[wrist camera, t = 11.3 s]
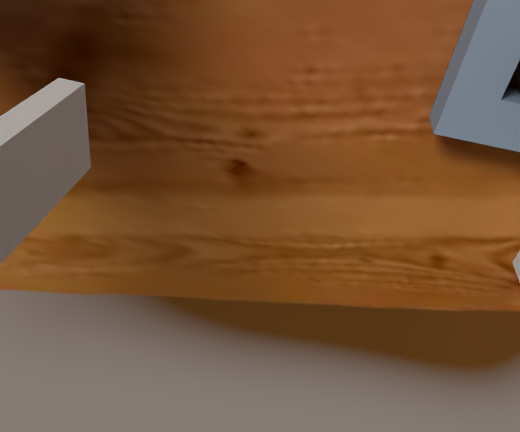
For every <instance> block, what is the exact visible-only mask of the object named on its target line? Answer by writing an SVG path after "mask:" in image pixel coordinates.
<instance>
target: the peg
mask: <svg viewBox="0 0 520 432" xmlns="http://www.w3.org/2000/svg"><path fill="white" fill-rule="evenodd" d="M513 76H514V77H515V79H516V80H517V81H518V83H519V84H520V60H519V62H518V65H517V67H516V69H515V71H514V73H513Z"/></svg>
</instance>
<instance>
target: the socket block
mask: <svg viewBox="0 0 520 432" xmlns="http://www.w3.org/2000/svg"><path fill="white" fill-rule="evenodd" d="M519 60H520V0H474V1H473V4H472V6H471V9H470V11H469V14H468V17H467V19H466V22H465V24H464V27H463V30H462V32H461V35H460V37H459V40H458V43H457V45H456V48H455V50H454V53H453V56H452V58H451V61H450V63H449V66H448V69H447V71H446V74H445V77H444V79H443V82H442V84H441V87H440V90H439V92H438V95H437V97H436V100H435V103H434V105H433V108H432V110H431V113H430V116H429V117H430V121H431V125H432V129H433V133H434V134H437V135H441V136H446V137H451V138H456V139H460V140H465V141H470V142H474V143H479V144H484V145H489V146H493V147H498V148H503V149H507V150H512V151H517V152H520V89H515V88H510V87H507V86H508V84H509V82H510V79H511V77H512V75H513V73H514V71H515V69H516V67H517V65H518V62H519Z"/></svg>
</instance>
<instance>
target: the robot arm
mask: <svg viewBox="0 0 520 432" xmlns="http://www.w3.org/2000/svg"><path fill="white" fill-rule="evenodd" d="M90 168H91V161H90V148H89V135H88V121H87V108H86V95H85V83H81V82H76V81H71V80H67V79H62V78H57V79H56V80H54V81H53V82H51V83H50V84H48V85H47V86H45V87H44V88H42V89H41V90H39V91H38V92H36V93H35V94H33V95H32V96H30V97H29V98H27V99H26V100H24V101H23V102H21V103H20V104H18V105H17V106H15V107H14V108H12V109H11V110H9V111H8V112H6V113H5V114H3V115H2V116H0V264H1V263H2V262H3V261H4V260H5V259H6V258H7V256H8V255H9V254H10V253H11V252H12V251H13V250H14V249H15V248H16V247H17V246H18V245H19V244H20V243H21V242H22V240H23V239H24V238H25V237H26V236H27V235H28V234H29V233H30V232H31V231H32V230H33V229H34V228H35V227H36V226H37V225H38V223H39V222H40V221H41V220H42V219H43V218H44V217H45V216H46V215H47V214H48V213H49V212H50V211H51V210H52V209H53V207H54V206H55V205H56V204H57V203H58V202H59V201H60V200H61V199H62V198H63V197H64V196H65V195H66V194H67V193H68V191H69V190H70V189H71V188H72V187H73V186H74V185H75V184H76V183H77V182H78V181H79V180H80V179H81V178H82V177H83V175H84V174H85V173H86V172H87V171H88V170H89V169H90ZM512 263H513V265H514V268H515V271H516V273H517V276H518V279H519V281H520V251H519V253H518V254H517V256H516V258H515V259H514V261H513V262H512Z"/></svg>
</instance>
